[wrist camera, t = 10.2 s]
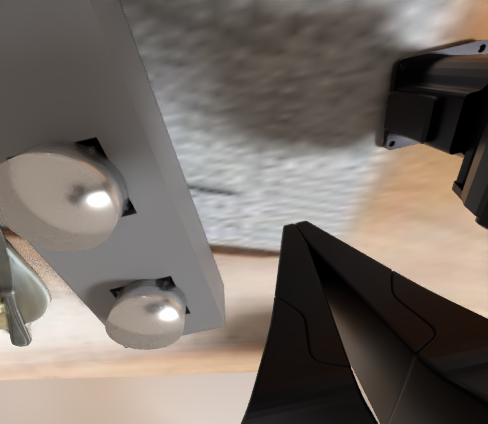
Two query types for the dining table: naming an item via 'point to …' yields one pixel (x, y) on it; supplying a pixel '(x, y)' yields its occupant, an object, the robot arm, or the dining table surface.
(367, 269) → the robot arm
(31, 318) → the salad plate
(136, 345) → the plunger
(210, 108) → the dining table surface
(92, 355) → the dining table surface
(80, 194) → the plunger middle
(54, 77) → the console
